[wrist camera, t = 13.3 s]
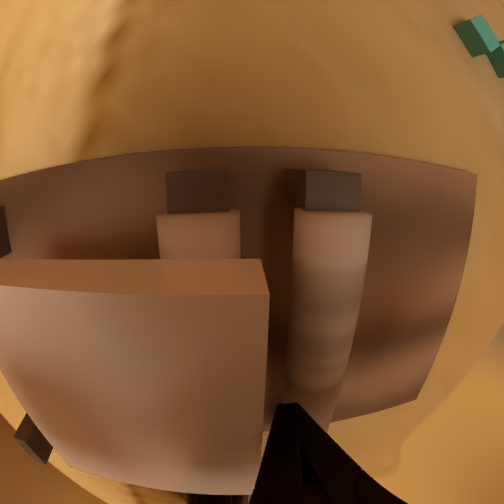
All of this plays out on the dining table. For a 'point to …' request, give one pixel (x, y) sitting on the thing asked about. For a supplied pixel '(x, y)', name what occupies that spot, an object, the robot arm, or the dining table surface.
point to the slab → (142, 366)
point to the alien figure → (482, 42)
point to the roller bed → (276, 254)
